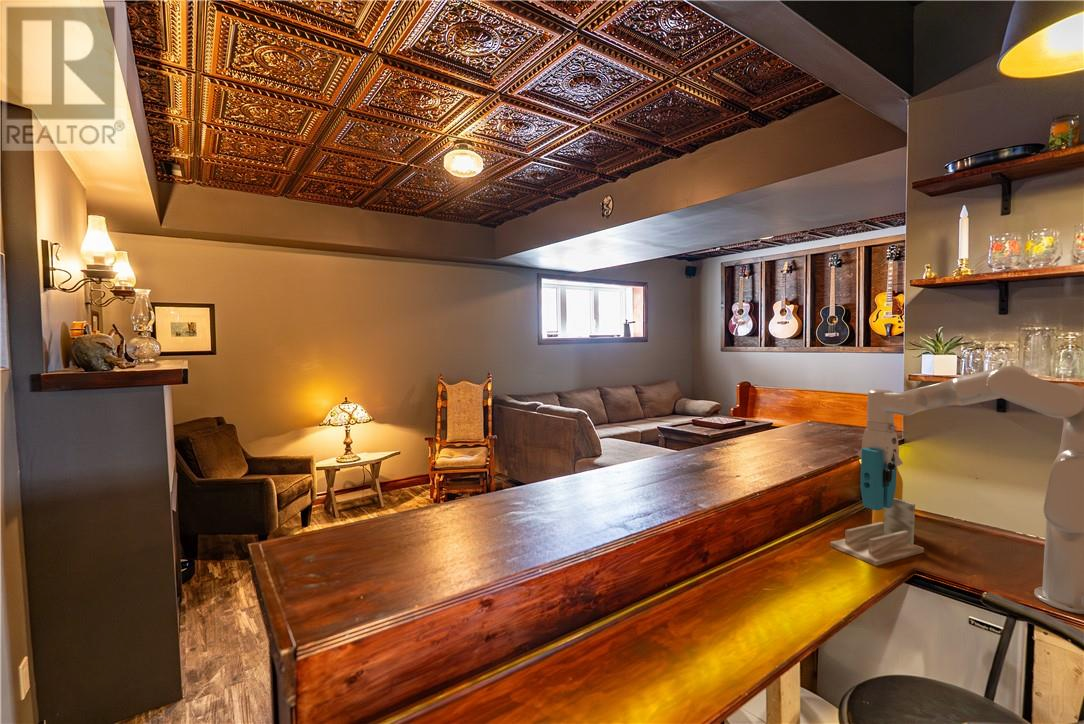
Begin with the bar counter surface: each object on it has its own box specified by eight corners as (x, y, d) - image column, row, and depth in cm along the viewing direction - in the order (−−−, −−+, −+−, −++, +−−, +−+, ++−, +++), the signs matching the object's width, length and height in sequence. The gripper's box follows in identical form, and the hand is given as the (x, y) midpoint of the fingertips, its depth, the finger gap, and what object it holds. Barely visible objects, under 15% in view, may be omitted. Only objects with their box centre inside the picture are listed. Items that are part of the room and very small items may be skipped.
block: (881, 501, 177) (883, 445, 175) (896, 506, 172) (898, 448, 171) (858, 506, 172) (860, 448, 171) (873, 511, 167) (874, 451, 166)
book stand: (923, 552, 170) (925, 507, 169) (875, 565, 161) (877, 518, 160) (876, 534, 185) (877, 493, 184) (830, 546, 176) (831, 502, 175)
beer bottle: (866, 525, 194) (868, 450, 192) (881, 521, 198) (883, 447, 196) (891, 534, 185) (894, 455, 183) (907, 529, 189) (909, 453, 187)
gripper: (914, 430, 164) (912, 485, 165) (863, 421, 180) (861, 472, 181) (898, 432, 161) (897, 488, 162) (848, 423, 177) (847, 474, 178)
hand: (878, 479), depth 171 cm, fingers closed on block, 5 cm apart
